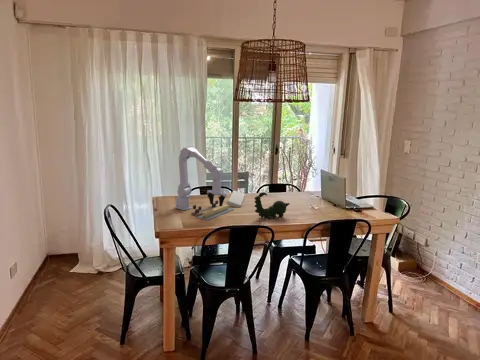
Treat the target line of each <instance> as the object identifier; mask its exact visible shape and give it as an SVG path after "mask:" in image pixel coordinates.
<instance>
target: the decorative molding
mask: <svg viewBox="0 0 480 360" xmlns="http://www.w3.org/2000/svg"><path fill="white" fill-rule="evenodd" d="M245 196H246V194H245V193H243V192H240V191H238V190H233V191H232V192H231V194H230V197H229V199H228V200H227V203H226V204H227V205H229V208H233V207H234V208H241V207H242V204H243V200H244V198H245Z"/></svg>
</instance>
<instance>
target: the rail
mask: <svg viewBox="0 0 480 360" xmlns="http://www.w3.org/2000/svg"><path fill="white" fill-rule="evenodd" d="M229 208H230V207H229V205H227V203H226V204H222V206H221V207H220V206H219V207H216V208H214V209H211V210H208V211H206V212H203V217H204V218H207V217H210V216H212V215H215V214H217V213H220V212H222V211H225V210H227V209H229Z"/></svg>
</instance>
